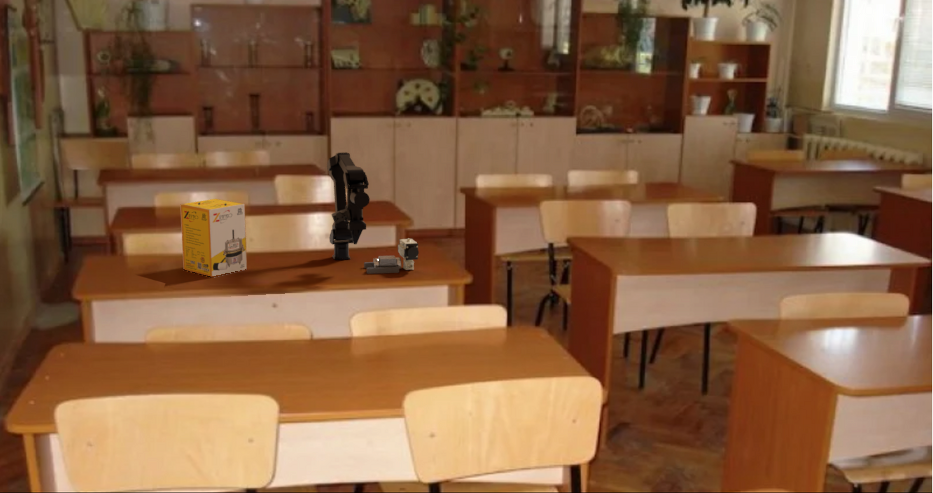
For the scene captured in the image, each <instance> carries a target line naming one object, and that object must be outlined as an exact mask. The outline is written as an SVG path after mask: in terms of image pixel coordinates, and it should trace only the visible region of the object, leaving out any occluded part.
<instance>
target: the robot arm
mask: <svg viewBox="0 0 933 493" xmlns="http://www.w3.org/2000/svg"><path fill="white" fill-rule="evenodd" d="M350 154H351V153H349V152H346V151H345V152H343V151H342V152H336V153H335V154H334V155H333V156H330V157H329V158H328V160H327V162H326V169H327V172H328V176H329V177H330V179H331V180H332V182H333V191H334V194H333V195H334V209H335V212H333V213H332V214H331V217H332V220H333V223H332V225H331V228H332V229H331V230H330V234H329V237H328V238H329V243H330V244H331V245H333V250H334V251H333V254H332V258H333V260H335V261H337V260H351V256H350V251H349V250H350V249H349V247H350V246H349V245H350V244H353V245H357V244H358V243H359V239H360V237H361V235H362V233H363V231H364V230H367V224H366V222H365V220H364V215H363V210H364V208H365V207H367V206H368V205H369V204H370V200H371V199H370V196H369V194H368V193H366V192H365V190H366V189H369V179H368V176H367V174H366V172H365V171H364V169H363V168H361V167H359V166H357V165H356V164H355V162H354V161H353V159H352V157H351V155H350Z"/></svg>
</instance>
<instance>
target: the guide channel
mask: <svg viewBox="0 0 933 493" xmlns="http://www.w3.org/2000/svg"><path fill="white" fill-rule="evenodd" d="M363 269H366V274H367V275H368V274H369V275H373V274H391V273H393V274H394V273H395V274H396V273H397V274H398V273H400V269H399V267H374V266H373V261H369V262H364V263H363Z"/></svg>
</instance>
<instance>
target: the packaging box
mask: <svg viewBox="0 0 933 493" xmlns="http://www.w3.org/2000/svg"><path fill="white" fill-rule="evenodd" d="M179 208H180V225H181V227H180V229H181V243H182V244H181V246H182V264H183V266H182V267H183V268H182V270H183V269H185V270H189V271H193V272H197V273H201V274H204V275H208V276H216V275H221V274H225V273H230V274H232V273H231V272H234V273H236V272H235V271H238V272H241V271H240V270H242V271H245V269H246V270H248V269H247V268H248V267H247V266H248V265H247V264H248V262H247V238H246V237H247V236H246V235H247V234H246V233H247V232H246V230H247V229H246V204H245V203H241V202H236V201H229V200H225V199H220V198H212V199H210V198H209V199H205V200H198V201H192V202H185V203H181V204H180V207H179Z"/></svg>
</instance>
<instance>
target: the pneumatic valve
mask: <svg viewBox="0 0 933 493" xmlns="http://www.w3.org/2000/svg"><path fill="white" fill-rule="evenodd" d="M397 252H398V253H399V257H402V258H403V260H402V262H403V266H402V268H403V269H404V270H405V271H409V270H412V271H413V270H414V269H415V267H414V265H415V264H414V263H415V261H417V260H419V254H420V252H419V243H417V241H415V240H414V239H413V238H409V237H408V238H399V243H398V244H397ZM414 260H415V261H414Z"/></svg>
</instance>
